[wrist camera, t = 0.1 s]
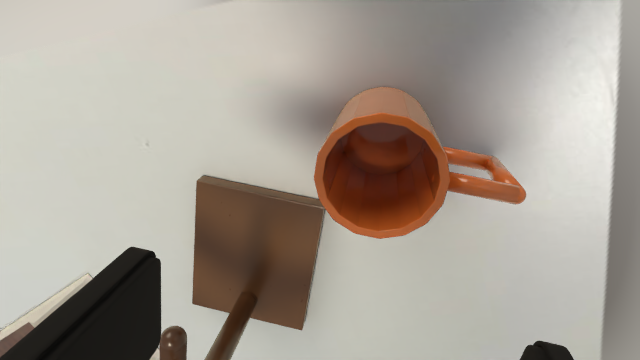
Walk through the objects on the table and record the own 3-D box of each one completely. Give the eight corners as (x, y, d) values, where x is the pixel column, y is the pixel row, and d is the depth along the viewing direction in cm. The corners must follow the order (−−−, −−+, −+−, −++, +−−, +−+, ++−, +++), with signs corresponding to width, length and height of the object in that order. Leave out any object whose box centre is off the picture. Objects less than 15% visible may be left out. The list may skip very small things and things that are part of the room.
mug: (329, 167, 29) (306, 223, 21) (344, 78, 26) (326, 101, 18) (475, 196, 28) (514, 268, 20) (506, 108, 25) (564, 146, 17)
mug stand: (202, 175, 31) (50, 297, 17) (326, 200, 30) (274, 353, 16) (198, 295, 35) (75, 471, 21) (304, 321, 34) (249, 521, 20)
